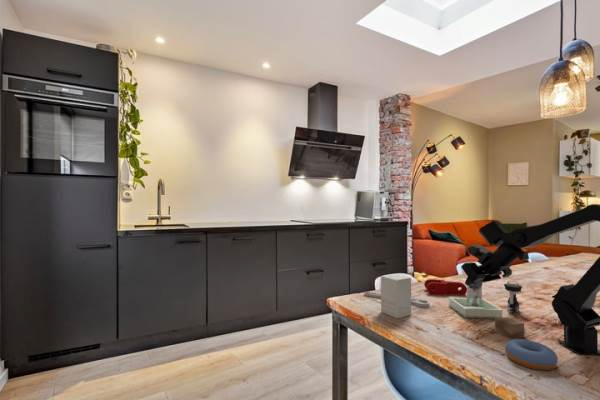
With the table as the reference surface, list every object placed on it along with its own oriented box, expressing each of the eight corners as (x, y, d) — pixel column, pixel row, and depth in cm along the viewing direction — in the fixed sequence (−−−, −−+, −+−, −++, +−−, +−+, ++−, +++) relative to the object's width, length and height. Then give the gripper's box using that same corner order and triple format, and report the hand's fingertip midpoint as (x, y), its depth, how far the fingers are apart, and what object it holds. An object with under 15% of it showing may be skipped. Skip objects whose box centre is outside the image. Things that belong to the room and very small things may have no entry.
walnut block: (524, 337, 86) (524, 323, 86) (511, 339, 84) (511, 325, 84) (507, 330, 91) (507, 316, 91) (494, 332, 89) (494, 318, 89)
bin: (502, 319, 99) (502, 309, 99) (464, 317, 100) (464, 308, 100) (482, 306, 111) (482, 298, 111) (449, 305, 112) (449, 297, 112)
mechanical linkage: (427, 294, 127) (427, 282, 127) (424, 289, 134) (424, 278, 134) (468, 297, 123) (468, 285, 123) (463, 292, 130) (463, 281, 130)
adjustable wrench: (363, 296, 124) (363, 292, 124) (369, 293, 129) (369, 289, 129) (427, 309, 109) (427, 304, 109) (431, 304, 114) (431, 300, 114)
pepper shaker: (481, 307, 102) (481, 281, 102) (465, 305, 105) (465, 279, 105) (483, 304, 106) (482, 278, 106) (467, 301, 109) (467, 276, 109)
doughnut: (550, 377, 65) (549, 354, 66) (498, 360, 73) (498, 340, 74) (564, 367, 71) (563, 347, 71) (514, 353, 79) (514, 334, 79)
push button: (518, 315, 102) (518, 286, 102) (500, 311, 106) (500, 283, 107) (524, 311, 106) (524, 283, 107) (506, 307, 111) (506, 280, 111)
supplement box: (411, 315, 102) (412, 277, 102) (396, 319, 98) (396, 280, 99) (395, 308, 108) (395, 273, 109) (380, 311, 105) (380, 275, 105)
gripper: (502, 236, 106) (473, 262, 116) (466, 238, 99) (438, 266, 108) (527, 263, 99) (494, 288, 109) (490, 267, 91) (458, 294, 101)
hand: (470, 283), depth 107 cm, fingers closed on pepper shaker, 5 cm apart
